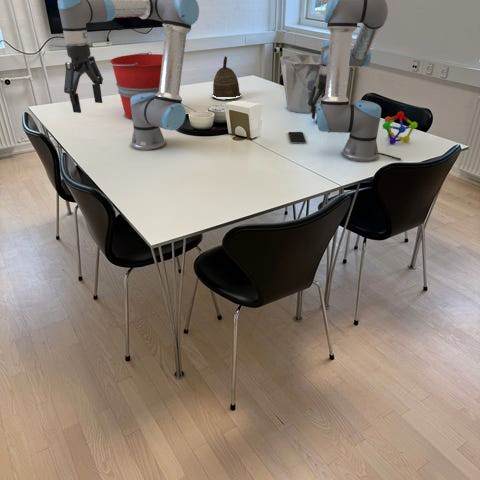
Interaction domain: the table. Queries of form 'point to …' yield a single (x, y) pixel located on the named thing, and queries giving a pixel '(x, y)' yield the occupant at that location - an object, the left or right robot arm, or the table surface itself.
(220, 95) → the bell
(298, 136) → the smartphone
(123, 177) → the table surface
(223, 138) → the table surface
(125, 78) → the bucket
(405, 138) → the educational toy
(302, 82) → the bucket
